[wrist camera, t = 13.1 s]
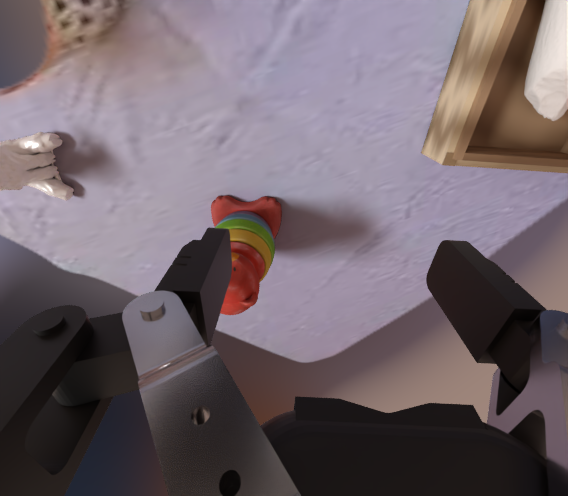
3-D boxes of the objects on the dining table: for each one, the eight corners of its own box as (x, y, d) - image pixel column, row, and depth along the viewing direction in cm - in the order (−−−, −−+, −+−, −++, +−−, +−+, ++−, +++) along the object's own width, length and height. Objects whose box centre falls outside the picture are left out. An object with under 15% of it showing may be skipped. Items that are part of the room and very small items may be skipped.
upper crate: (501, -59, 25) (554, -94, 20) (675, -45, 26) (770, -76, 20) (431, 148, 35) (455, 159, 30) (556, 157, 35) (601, 169, 30)
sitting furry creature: (78, 197, 41) (8, 236, 31) (19, 187, 41) (-72, 223, 30) (62, 133, 36) (-27, 153, 26) (-6, 120, 36) (-124, 136, 25)
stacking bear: (281, 196, 40) (275, 264, 25) (281, 252, 46) (275, 337, 31) (210, 194, 40) (161, 261, 25) (218, 250, 46) (181, 334, 31)
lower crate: (491, -68, 26) (543, -106, 20) (680, -53, 26) (780, -88, 20) (421, 153, 36) (442, 165, 31) (554, 162, 37) (598, 175, 31)
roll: (501, 122, 33) (536, 129, 28) (533, -9, 26) (585, -29, 22) (554, 113, 32) (600, 119, 27) (600, -23, 26) (669, -46, 21)
